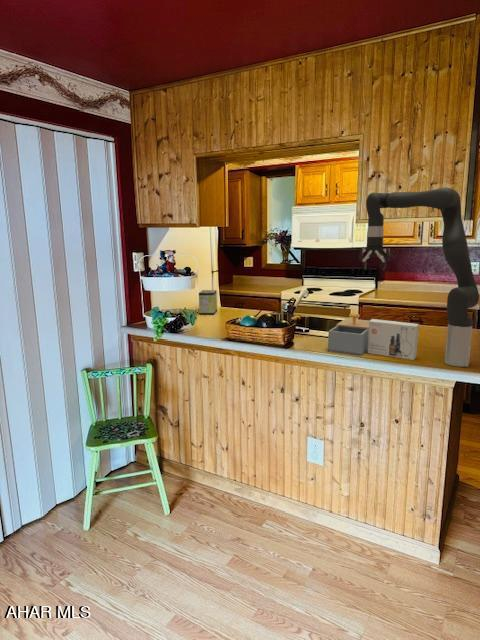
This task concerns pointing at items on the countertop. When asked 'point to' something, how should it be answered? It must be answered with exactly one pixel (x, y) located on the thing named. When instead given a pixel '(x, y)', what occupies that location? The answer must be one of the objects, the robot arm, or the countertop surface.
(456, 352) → the robot arm
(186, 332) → the countertop surface
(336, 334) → the carton
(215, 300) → the protein box
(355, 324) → the carton lid
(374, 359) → the countertop surface
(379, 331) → the skincare box
